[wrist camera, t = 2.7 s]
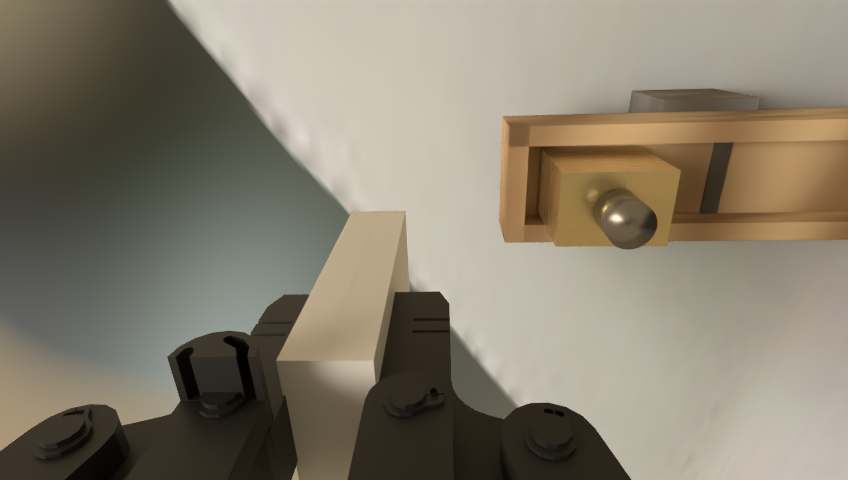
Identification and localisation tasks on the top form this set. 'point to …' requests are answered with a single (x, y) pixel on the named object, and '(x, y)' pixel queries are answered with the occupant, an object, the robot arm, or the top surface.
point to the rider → (606, 196)
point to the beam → (701, 164)
